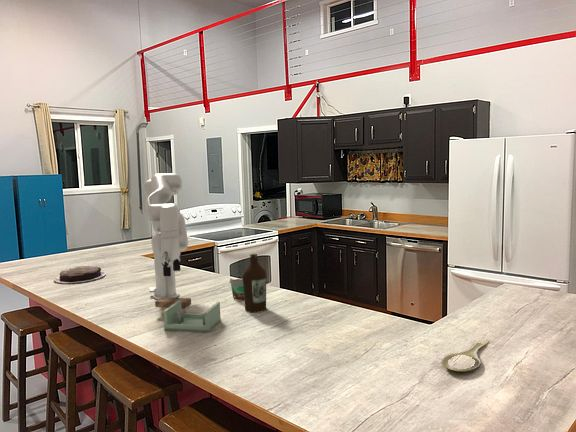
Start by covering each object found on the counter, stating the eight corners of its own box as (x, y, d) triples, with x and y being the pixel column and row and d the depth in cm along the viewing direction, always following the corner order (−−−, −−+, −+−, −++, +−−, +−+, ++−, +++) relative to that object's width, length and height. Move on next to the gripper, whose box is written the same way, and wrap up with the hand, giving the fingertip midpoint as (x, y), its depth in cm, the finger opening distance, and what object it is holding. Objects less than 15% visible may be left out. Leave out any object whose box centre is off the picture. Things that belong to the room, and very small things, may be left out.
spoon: (471, 341, 172) (471, 335, 172) (502, 348, 166) (502, 342, 166) (433, 370, 145) (434, 363, 145) (469, 379, 139) (469, 372, 138)
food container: (231, 302, 222) (231, 281, 221) (230, 298, 228) (229, 278, 227) (257, 299, 225) (256, 278, 224) (255, 295, 231) (254, 275, 230)
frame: (164, 330, 187) (163, 311, 186) (179, 318, 200) (178, 300, 199) (208, 332, 183) (207, 312, 182) (220, 320, 197) (219, 301, 196)
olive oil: (239, 308, 212) (237, 254, 209) (260, 304, 217) (258, 251, 214) (251, 314, 203) (248, 257, 200) (272, 310, 209) (270, 254, 206)
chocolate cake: (42, 283, 268) (41, 272, 267) (77, 272, 295) (76, 261, 294) (83, 286, 260) (82, 274, 259) (115, 274, 286) (114, 263, 286)
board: (155, 307, 204) (155, 301, 204) (161, 303, 210) (161, 297, 209) (185, 308, 201) (185, 302, 201) (191, 304, 207) (190, 298, 207)
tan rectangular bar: (162, 315, 206) (161, 306, 205) (164, 313, 208) (164, 304, 208) (183, 315, 204) (182, 306, 203) (185, 313, 206) (185, 305, 206)
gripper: (170, 231, 211) (172, 268, 213) (152, 237, 194) (154, 278, 196) (186, 231, 210) (188, 268, 212) (169, 237, 193) (171, 278, 195)
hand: (172, 273), depth 204 cm, fingers open, 9 cm apart
